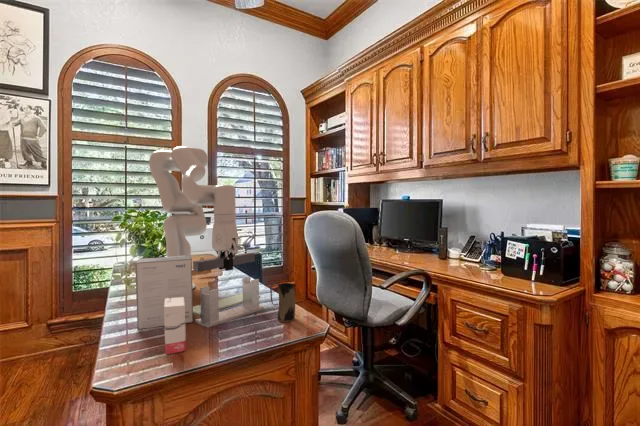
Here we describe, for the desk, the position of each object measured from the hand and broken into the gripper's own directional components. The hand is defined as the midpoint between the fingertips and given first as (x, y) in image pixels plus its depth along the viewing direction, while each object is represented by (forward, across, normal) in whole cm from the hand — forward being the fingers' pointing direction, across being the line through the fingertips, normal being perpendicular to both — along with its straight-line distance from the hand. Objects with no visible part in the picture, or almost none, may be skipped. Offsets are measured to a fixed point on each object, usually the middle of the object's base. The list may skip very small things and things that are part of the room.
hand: (226, 268), depth 119 cm
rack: (+13, +11, -6) cm, 18 cm away
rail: (-1, 0, 0) cm, 1 cm away
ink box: (+13, +19, -29) cm, 37 cm away
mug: (+14, +27, +2) cm, 30 cm away
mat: (+13, -1, 0) cm, 13 cm away
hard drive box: (+13, +1, -22) cm, 26 cm away
